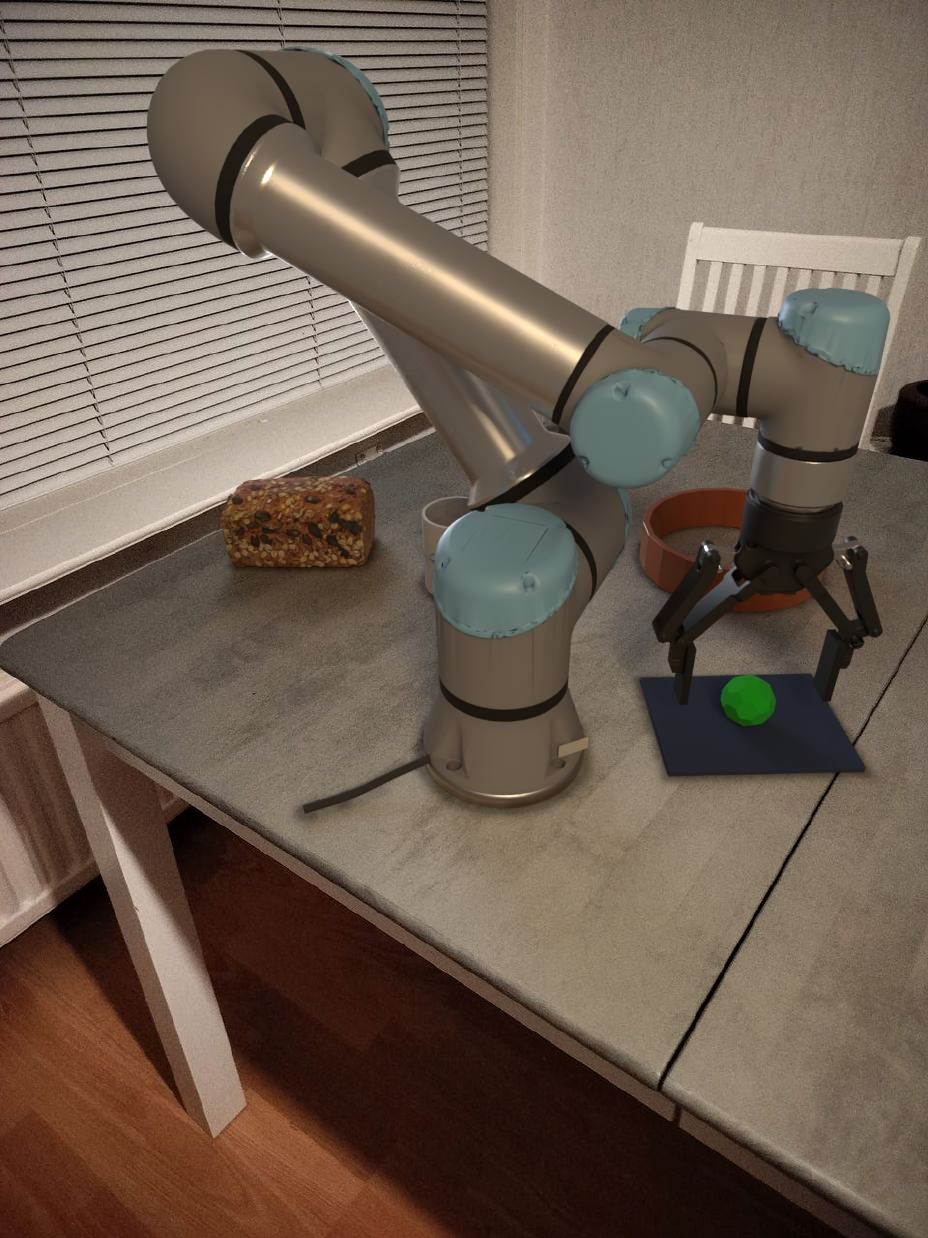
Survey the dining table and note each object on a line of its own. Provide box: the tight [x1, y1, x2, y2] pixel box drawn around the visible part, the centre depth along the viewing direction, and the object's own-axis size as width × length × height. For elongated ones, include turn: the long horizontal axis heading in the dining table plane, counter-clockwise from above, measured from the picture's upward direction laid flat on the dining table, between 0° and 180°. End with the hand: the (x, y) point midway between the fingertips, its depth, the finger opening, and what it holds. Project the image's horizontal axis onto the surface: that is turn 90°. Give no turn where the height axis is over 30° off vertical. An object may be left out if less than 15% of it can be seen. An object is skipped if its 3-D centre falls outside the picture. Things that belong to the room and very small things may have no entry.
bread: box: [220, 475, 377, 568], centre depth 109 cm, size 19×11×10 cm, turn 85°
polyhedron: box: [721, 674, 776, 726], centre depth 80 cm, size 5×5×5 cm
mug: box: [421, 495, 472, 596], centre depth 100 cm, size 12×9×10 cm
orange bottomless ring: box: [638, 487, 826, 613], centre depth 105 cm, size 23×23×6 cm
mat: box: [639, 672, 867, 777], centre depth 81 cm, size 18×14×1 cm
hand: (750, 694), depth 79 cm, fingers open, 13 cm apart
